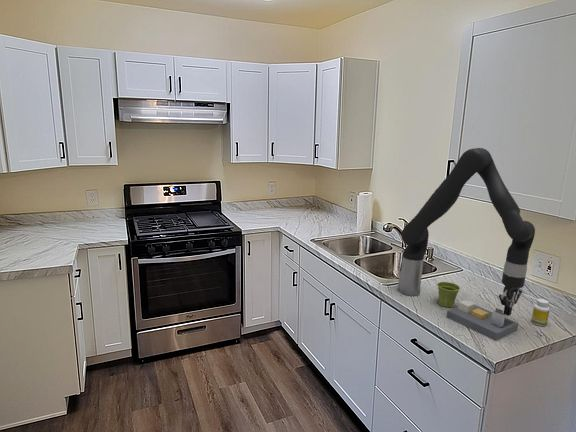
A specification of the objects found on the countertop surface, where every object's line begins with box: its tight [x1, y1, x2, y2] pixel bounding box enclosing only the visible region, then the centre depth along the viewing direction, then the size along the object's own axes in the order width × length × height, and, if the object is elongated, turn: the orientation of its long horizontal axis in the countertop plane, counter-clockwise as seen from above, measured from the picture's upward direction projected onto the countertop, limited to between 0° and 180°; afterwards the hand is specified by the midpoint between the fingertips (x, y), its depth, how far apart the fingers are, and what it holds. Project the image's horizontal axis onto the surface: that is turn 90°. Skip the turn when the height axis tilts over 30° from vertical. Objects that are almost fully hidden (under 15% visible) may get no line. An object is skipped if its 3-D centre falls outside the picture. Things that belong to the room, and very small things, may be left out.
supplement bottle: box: [530, 298, 550, 327], centre depth 158 cm, size 5×5×10 cm
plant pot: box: [436, 281, 461, 308], centre depth 172 cm, size 9×9×9 cm
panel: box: [446, 304, 520, 342], centre depth 157 cm, size 21×15×3 cm
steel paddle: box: [491, 307, 506, 327], centre depth 149 cm, size 4×2×6 cm, turn 33°
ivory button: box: [457, 299, 476, 313], centre depth 162 cm, size 4×4×4 cm
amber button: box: [471, 308, 489, 320], centre depth 157 cm, size 4×4×4 cm
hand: (507, 314), depth 153 cm, fingers closed
